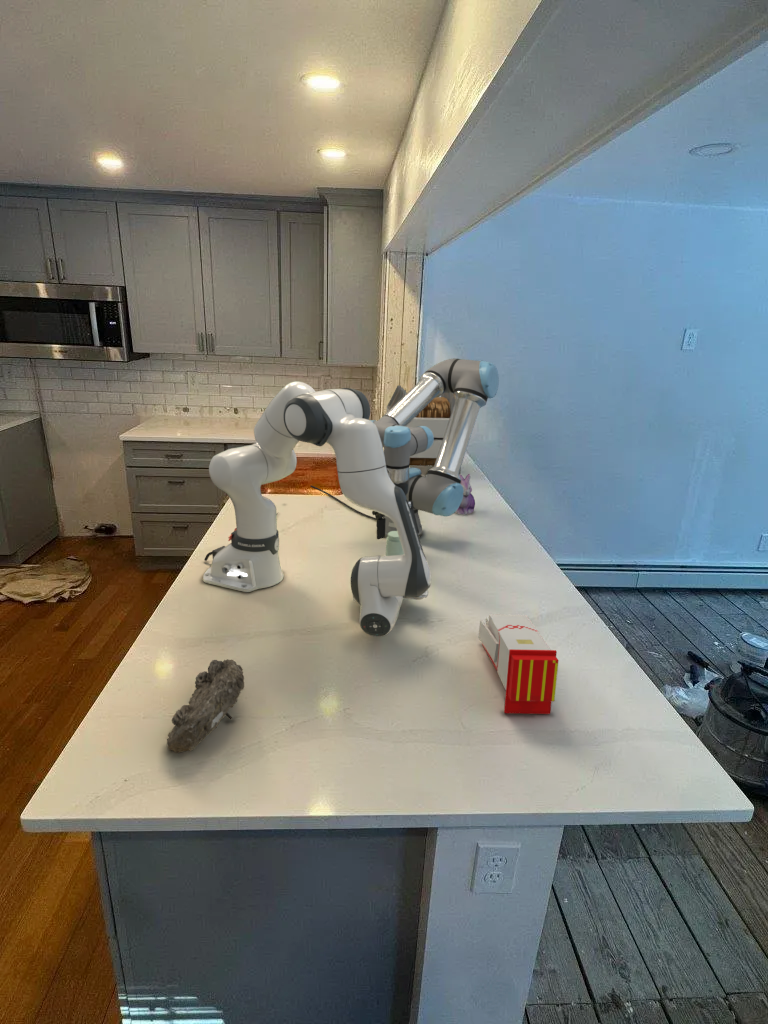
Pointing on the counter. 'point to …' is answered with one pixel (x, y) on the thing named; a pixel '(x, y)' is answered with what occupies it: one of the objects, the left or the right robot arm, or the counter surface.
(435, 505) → the right robot arm
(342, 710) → the counter surface
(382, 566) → the left robot arm
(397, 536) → the pale green bottle
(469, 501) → the figurine
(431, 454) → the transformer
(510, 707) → the toy
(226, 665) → the fossil
